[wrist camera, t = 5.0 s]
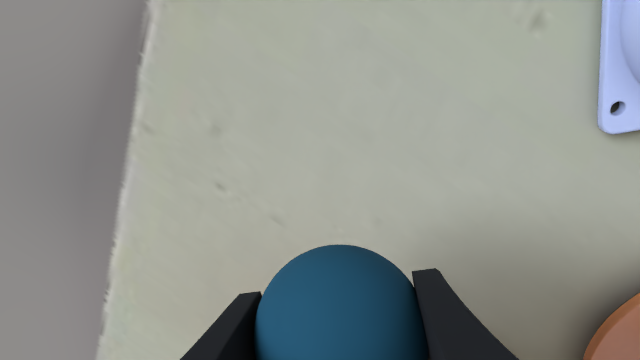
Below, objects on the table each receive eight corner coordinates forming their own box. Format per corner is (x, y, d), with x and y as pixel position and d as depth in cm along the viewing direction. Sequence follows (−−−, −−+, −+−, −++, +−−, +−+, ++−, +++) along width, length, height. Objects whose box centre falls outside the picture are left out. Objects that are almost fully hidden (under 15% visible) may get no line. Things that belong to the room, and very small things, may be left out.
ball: (254, 227, 12) (204, 340, 8) (404, 204, 11) (434, 313, 7) (290, 340, 14) (263, 482, 10) (423, 326, 13) (455, 471, 9)
